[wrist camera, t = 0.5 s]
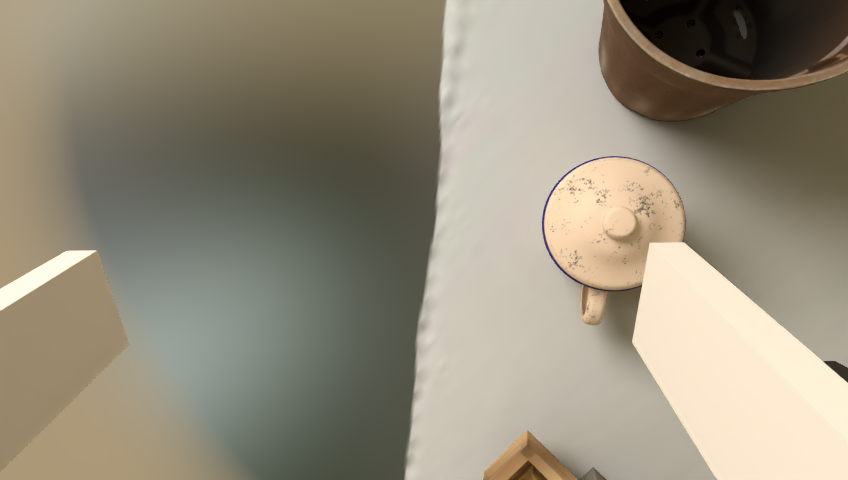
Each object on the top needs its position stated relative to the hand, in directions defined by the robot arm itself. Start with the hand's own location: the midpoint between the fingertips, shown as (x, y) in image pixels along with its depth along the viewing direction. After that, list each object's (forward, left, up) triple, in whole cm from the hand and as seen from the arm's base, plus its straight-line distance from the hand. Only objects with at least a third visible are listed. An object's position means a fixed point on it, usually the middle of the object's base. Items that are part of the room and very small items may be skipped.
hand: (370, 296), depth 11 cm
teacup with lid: (-6, -7, -31) cm, 33 cm away
